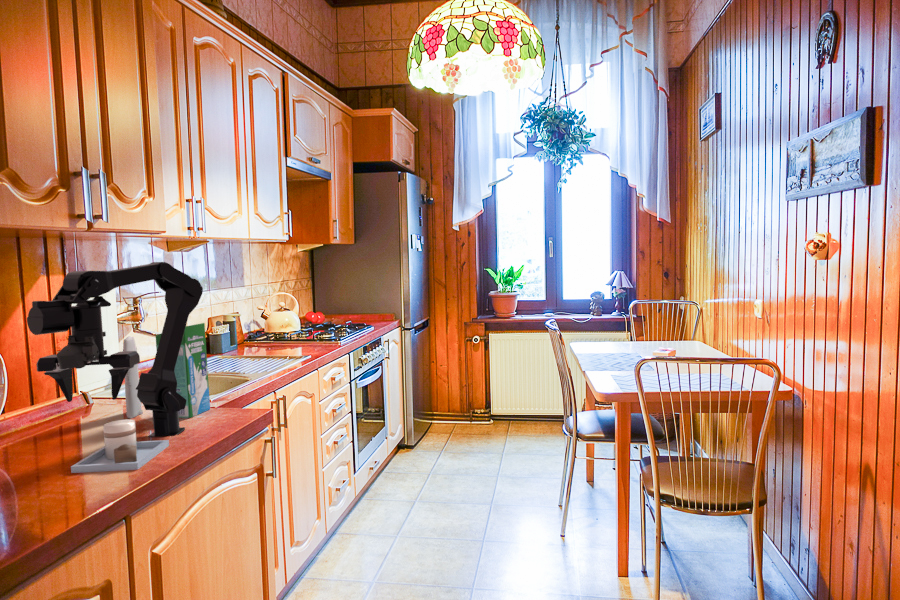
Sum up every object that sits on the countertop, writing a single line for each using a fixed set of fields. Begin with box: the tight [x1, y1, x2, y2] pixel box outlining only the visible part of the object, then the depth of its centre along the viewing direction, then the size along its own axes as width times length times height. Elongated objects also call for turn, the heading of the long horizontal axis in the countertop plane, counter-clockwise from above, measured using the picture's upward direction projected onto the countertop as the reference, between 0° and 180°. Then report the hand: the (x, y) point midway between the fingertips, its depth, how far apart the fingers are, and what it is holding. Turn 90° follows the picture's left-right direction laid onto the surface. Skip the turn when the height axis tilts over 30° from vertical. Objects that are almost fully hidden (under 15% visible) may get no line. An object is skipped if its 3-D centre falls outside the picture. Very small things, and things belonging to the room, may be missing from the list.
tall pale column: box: [122, 336, 144, 419], centre depth 163 cm, size 11×4×22 cm, turn 16°
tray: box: [70, 439, 170, 474], centre depth 125 cm, size 15×13×2 cm
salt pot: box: [114, 444, 137, 463], centre depth 121 cm, size 4×4×4 cm
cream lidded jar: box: [102, 418, 138, 460], centre depth 127 cm, size 6×6×7 cm
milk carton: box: [155, 322, 211, 419], centre depth 162 cm, size 9×9×25 cm
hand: (92, 400), depth 127 cm, fingers open, 9 cm apart
